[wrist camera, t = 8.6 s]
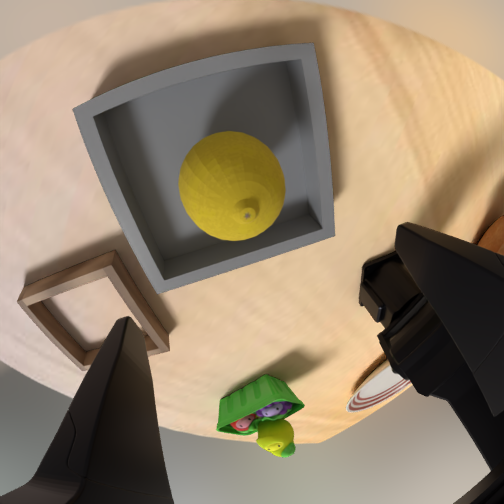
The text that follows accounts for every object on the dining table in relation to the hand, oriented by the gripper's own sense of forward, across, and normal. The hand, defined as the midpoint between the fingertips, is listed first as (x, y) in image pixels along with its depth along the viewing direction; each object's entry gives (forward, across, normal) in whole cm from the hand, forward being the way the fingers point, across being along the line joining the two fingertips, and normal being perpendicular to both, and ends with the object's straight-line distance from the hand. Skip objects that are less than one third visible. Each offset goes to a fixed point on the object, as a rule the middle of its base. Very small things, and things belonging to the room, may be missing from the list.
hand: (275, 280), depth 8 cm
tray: (+13, 0, 0) cm, 13 cm away
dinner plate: (+13, -25, +51) cm, 58 cm away
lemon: (+12, 0, 0) cm, 12 cm away
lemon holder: (+13, +15, +10) cm, 22 cm away
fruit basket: (+13, +4, +34) cm, 36 cm away
